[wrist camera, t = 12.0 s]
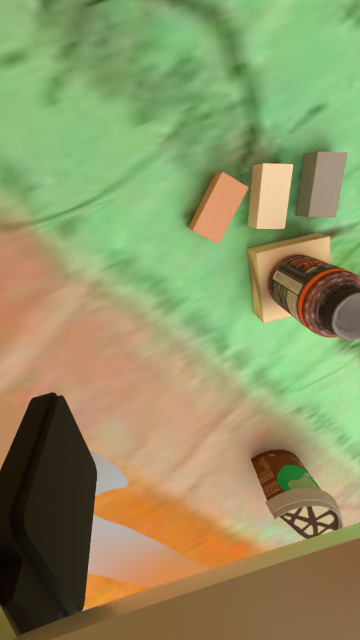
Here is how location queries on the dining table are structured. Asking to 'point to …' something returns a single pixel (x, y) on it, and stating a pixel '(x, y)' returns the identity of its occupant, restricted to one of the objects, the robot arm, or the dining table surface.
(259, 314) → the oak slab
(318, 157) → the brick slate
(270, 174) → the brick cream
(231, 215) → the brick terracotta
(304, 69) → the dining table surface
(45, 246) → the dining table surface
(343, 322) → the supplement bottle
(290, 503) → the food container
